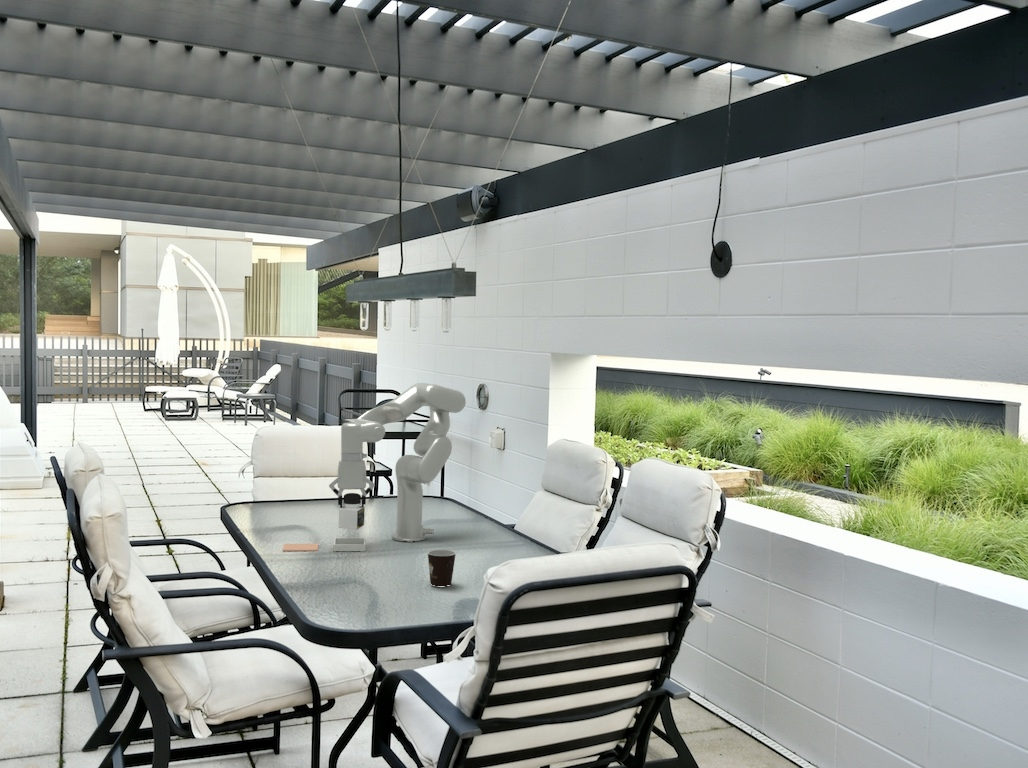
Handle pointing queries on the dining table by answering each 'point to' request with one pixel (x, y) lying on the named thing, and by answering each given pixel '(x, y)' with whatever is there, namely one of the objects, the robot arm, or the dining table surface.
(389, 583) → the dining table surface
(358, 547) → the parts bin
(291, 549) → the coaster
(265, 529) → the dining table surface
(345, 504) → the medicine bottle
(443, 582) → the coffee mug
